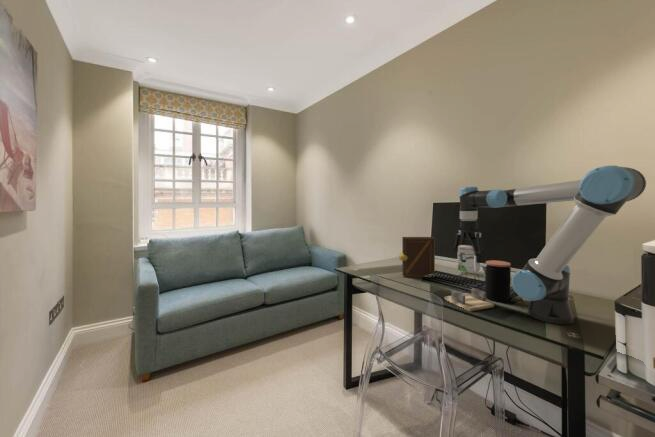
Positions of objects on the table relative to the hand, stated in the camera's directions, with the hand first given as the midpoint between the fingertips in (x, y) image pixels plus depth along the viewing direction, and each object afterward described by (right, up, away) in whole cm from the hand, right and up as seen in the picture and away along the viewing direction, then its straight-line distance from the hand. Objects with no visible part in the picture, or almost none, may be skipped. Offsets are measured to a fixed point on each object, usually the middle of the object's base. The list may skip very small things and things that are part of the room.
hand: (468, 267), depth 136 cm
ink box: (0, -2, 0) cm, 2 cm away
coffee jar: (+17, -17, +6) cm, 25 cm away
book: (-10, -14, +49) cm, 52 cm away
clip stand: (0, -17, 0) cm, 17 cm away
